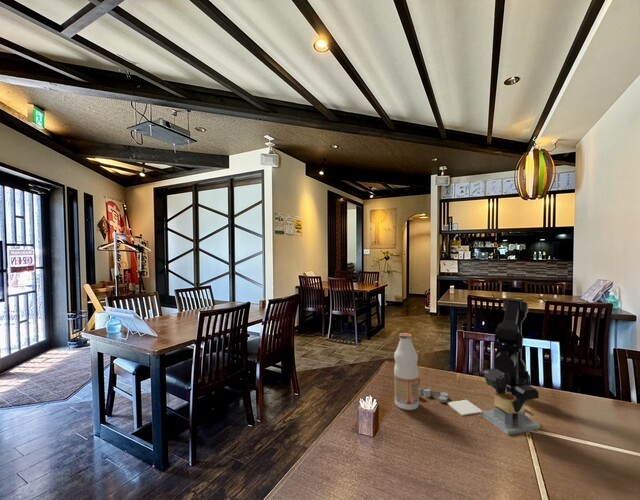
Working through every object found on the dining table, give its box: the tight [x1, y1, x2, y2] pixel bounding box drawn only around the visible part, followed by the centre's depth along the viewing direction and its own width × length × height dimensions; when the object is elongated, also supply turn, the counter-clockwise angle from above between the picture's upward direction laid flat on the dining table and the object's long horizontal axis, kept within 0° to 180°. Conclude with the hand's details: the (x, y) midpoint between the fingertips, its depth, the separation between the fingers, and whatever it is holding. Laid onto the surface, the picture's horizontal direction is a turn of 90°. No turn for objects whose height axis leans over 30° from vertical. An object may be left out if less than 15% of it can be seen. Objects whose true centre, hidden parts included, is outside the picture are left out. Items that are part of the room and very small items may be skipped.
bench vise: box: [480, 399, 541, 436], centre depth 109 cm, size 14×12×8 cm
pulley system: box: [419, 387, 449, 403], centre depth 134 cm, size 27×5×15 cm
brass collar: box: [493, 391, 525, 414], centre depth 108 cm, size 6×6×4 cm
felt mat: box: [446, 399, 483, 417], centre depth 118 cm, size 9×9×1 cm
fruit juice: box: [393, 332, 420, 411], centre depth 122 cm, size 9×9×28 cm
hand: (509, 407), depth 109 cm, fingers closed on brass collar, 6 cm apart
